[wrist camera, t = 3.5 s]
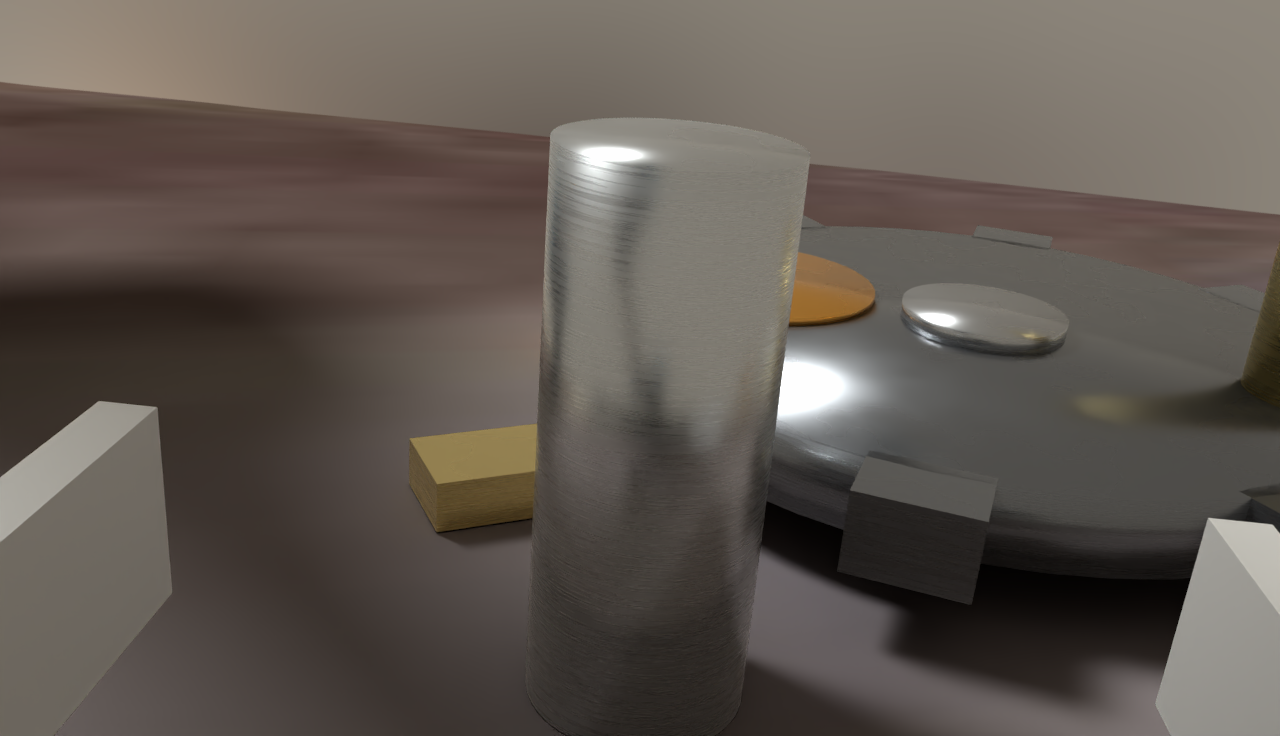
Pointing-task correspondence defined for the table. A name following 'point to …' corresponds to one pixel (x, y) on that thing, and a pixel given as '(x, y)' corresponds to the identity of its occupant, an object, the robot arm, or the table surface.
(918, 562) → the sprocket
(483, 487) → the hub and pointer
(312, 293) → the table surface
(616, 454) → the roller
